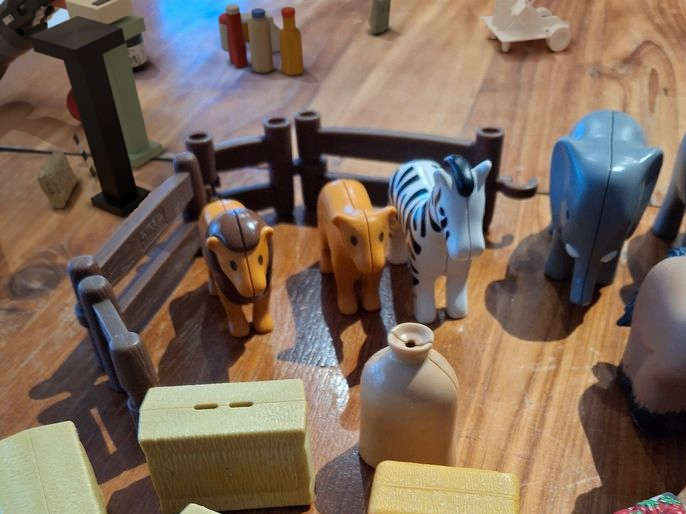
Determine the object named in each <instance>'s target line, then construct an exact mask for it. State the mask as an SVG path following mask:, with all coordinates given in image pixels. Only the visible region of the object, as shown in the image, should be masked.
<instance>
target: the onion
mask: <svg viewBox="0 0 686 514" xmlns="http://www.w3.org/2000/svg"><path fill="white" fill-rule="evenodd" d="M66 108H67V110H68V112H69V114H70V115H71V117H72V118H73V119H75V120H76V121H77V122H80V123H82V122H81V118H80V115H79V112H78V108H77V105H76V102H75V98H74V95H73V91H72V88H70V89H69V91H68V93H67V96H66Z"/></svg>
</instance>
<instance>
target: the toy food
mask: <svg viewBox="0 0 686 514" xmlns="http://www.w3.org/2000/svg"><path fill="white" fill-rule="evenodd" d="M224 10H225V12H223V13H221V14H219V17H218V18H217V20H218V28H219V37H220V38H219V39H220V45H221V48H222V50H224V51H226V52H228V56H229V60H230V61H229V62H230V63H231V64H232V65H233V66H234V67H235V68H237V69H239V68H243V67H247V65H248V53H247V52H248V51H247V43H246V42H248V43H249V49H250V57H251V58H250V59H251V60H250V61H251V68H252V69H253V71H254V72H256V73H258V74H267V73H270V72H271V71H273V69H274V57H273V53H276V52H277V53H278V52H280V59H281V70H282V73H284V74H285V75H286V76H290V77H294V76H299V75H301V74H302V73H303V71H304V67H305V65H304V55H303V39H302V33H301V30H300V29H299V28H298V27H297V24H296V9H295V8H294V7H292V6H284V7H282V8H281V10H280V14H281V16H282V26H283V27H282V28H280V27H279V26H278V25H277V24H276V23H275V22H274V17H273V15H272V14H270V13H269V12H268V11H267V10H265V8H260V7H256V8H253V9H251V11H250V12H251V13H249V12H243V13H241V11H240V6H239V5H237V4H233V3H232V4H228V5H226V6H225V8H224Z"/></svg>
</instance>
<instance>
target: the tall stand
mask: <svg viewBox="0 0 686 514" xmlns="http://www.w3.org/2000/svg"><path fill="white" fill-rule="evenodd" d="M30 40H31V43H32V46H33V48H32V49H33V52H34V53H38V54H41V55H44V56H47V57H50V58H54V59H56V60H57V59H58V60H60V61H63V64H64V66H65V71H66V75H67V78H68V81H69V84H70V87H71V88H72V91H73V95H74V98H75V102H76V105H77V108H78V112H79V115H80V118H81V122H80V123H81V125H82V128H83V132H84V135H85V138H86V142H87V145H88V149H89V152H90V156H91V159H92V162H93V167H94V170H95V174H96V176H97V179H98V183H99V186H100V190H101V191H99V192H98V193H96V194H95V195H93V196H92V197H90V202H91V204H92V207H94V208H97V209H99V210H101V211H105V212H107V213H110V214H112V215H115V216H117V217H120V218H122V219H123V218H126V217H127V216H129V215H130V214H132V213H134V212H135V211H134V209H136V208H137V207H138V206H139V204H140V203H141V202H142V201H143V200H144V199H145V198H146V197H147V196H148V194H149V193H150V192H151V193H152V191H151V190H149V189H147V188H144V187H142V186H139V185H137V184H136V179H135V176H134V171H133V167H132V166H131V164H130V160H129V156H128V152H127V148H126V144H125V140H124V136H123V132H122V128H121V124H120V120H119V116H118V112H117V109H116V105H115V101H114V97H113V93H112V89H111V85H110V81H109V77H108V73H107V69H106V65H105V61H104V57H103V54H104V53H106V52H108V51H110V50H112V49H114V48H116V47H118V46H120V45H123V44H125V43H126V42H125V38H124V34H123V29H122V28H121V27H117V26H113V25H109V24H106V23H102V22H98V21H95V20H91V19H87V18H84V17H80V16H75V17H73V18H69V19H66V20H63V21H61V22H59V23H57V24H55V25H53V26H50V27H48V29H45V30H43V31H41V32H38V33H36V34H34V35H32V36H30ZM71 88H70V89H71ZM136 210H137V209H136Z"/></svg>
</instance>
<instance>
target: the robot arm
mask: <svg viewBox="0 0 686 514" xmlns="http://www.w3.org/2000/svg"><path fill="white" fill-rule="evenodd" d="M53 1H55V0H3V1H2V2H1V3H0V82H1V80H2V79H3V77H4V76H5V74H6V73H7V71H8V69H9V67H10V66H11V64H12V63H14V62H15V61H16V60H18V59H19V58H20V57H21V56H24V55H26V54H27V53H28V52H30V51H31V50H32V49H33V46H32V43H31V40H30V36H32V35H34V34H36V33H38V32H41V31H43V30H45V29H48V28H49V26H48V25H49V23H48V22H49V21H50V20H51V19H53V16H54V15H55V14H56V13H57V12H59V11H60V10H61V8H58V7H54V6H51V5H50V4H51V3H52V2H53Z"/></svg>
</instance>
